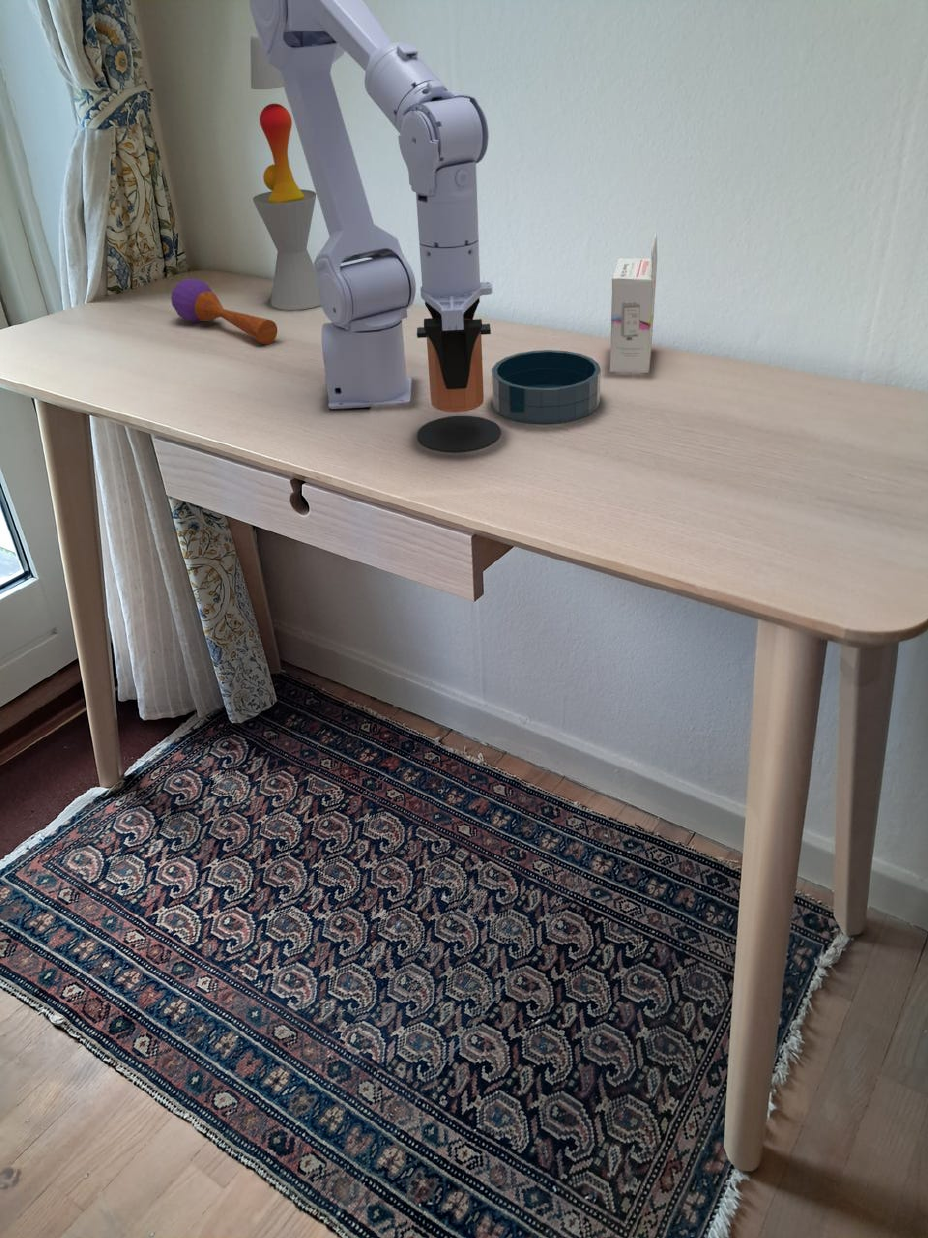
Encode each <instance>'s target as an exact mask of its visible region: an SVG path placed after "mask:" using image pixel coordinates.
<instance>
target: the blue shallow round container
mask: <svg viewBox="0 0 928 1238" xmlns="http://www.w3.org/2000/svg"><path fill="white" fill-rule="evenodd" d="M601 374H602V369H601V366H600V363H598V362H597V361H596V360H594V359H593V358H592V357H590V356H588V355H585V354H582V353H577V352H572V351H568V350H556V349H555V350H552V349H543V350H531V351H525V352H524V351H523V352H519V353H515V354H513V355H509V356H506V357H504V358H502V359H500V360H498V361H497V362H496V363H495V364H494V365H493V367H492V368H491V390H492V391H491V393H492V394H491V395H492V396H491V397H492V407H493V409H494V411H495V412H496V413H497V414H499V415H500V416H502V417H504V418H506V419H509V420H511V421H514V422H519V423H523V424H531V425H558V424H559V425H560V424H565V423H571V422H574V421H578V420H581V419H585V418H586V417H589V416H590V415H592V414H593V413H594V412H595V411H597V409H598V408H599V405H600V402H601V376H602V375H601Z"/></svg>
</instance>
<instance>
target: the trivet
mask: <svg viewBox="0 0 928 1238" xmlns="http://www.w3.org/2000/svg"><path fill="white" fill-rule="evenodd" d="M501 435H502V430H501V428H500V425H498V424H497V423H496V422H495V421H492V420H490V419H488V418H485V417H482V416H474V415H450V416H445V417H440V418H436V419H433V420H431V421H428V422H426V423H425V424H424V425H422V426H421V427H419V429H418V431H417V433H416V440H417V442H418V443H419V444H420V445H421V446H423V447H424V448H426V449H428V450H432V451H436V452H441V453H447V454H449V453H450V454H457V453H458V454H459V453H460V454H461V453H471V452H475V451H479V450H483V449H485V448H488V447H490V446H492V445H494V444H495V443H497V441H499V439H500V438H501Z"/></svg>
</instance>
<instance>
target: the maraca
mask: <svg viewBox="0 0 928 1238" xmlns="http://www.w3.org/2000/svg"><path fill="white" fill-rule="evenodd" d="M171 292H172V294H171V297H170V298H171V299H170V300H171V305H172V307H173V309H174V311H175V312H176V314H177V315H178V317H180V318H181V319H183V320H184V321H187V322H191V323H199V322H209V321H212V320H215V319H218V318H222V319H223V320H225V321H227V322H228V323H230V324H231V325H233V326H234V327H236V328H237V329H239V330H241V331H242V332H244V333H245V334H247V335H249V336H250V337H252V338H253V339H255V340H256V341H257V342H259V343H261V344H262V345H265V346H268V345H270V344H272V343H273V342H274V341H275V340H276V339H277V335H278V326H277V324H276V322H275V321H273V320H272V319H267V318H262V317H260V316H255V315H250V314H247V313H242V312H238V311H234V310H229V309H225V308H224V307H223V305H222V303H221V302H220V300H219V298H218V296H217V294H215V293H214V292H213V290H212V289H211V287H210V286H209V285H208V283H206V282H204V281H202V280H200V279H198V278H187V279H183V280H180V281H179V282H178V283H177V284H176V285H175V286H174V288H173V289H172V291H171Z"/></svg>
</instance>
